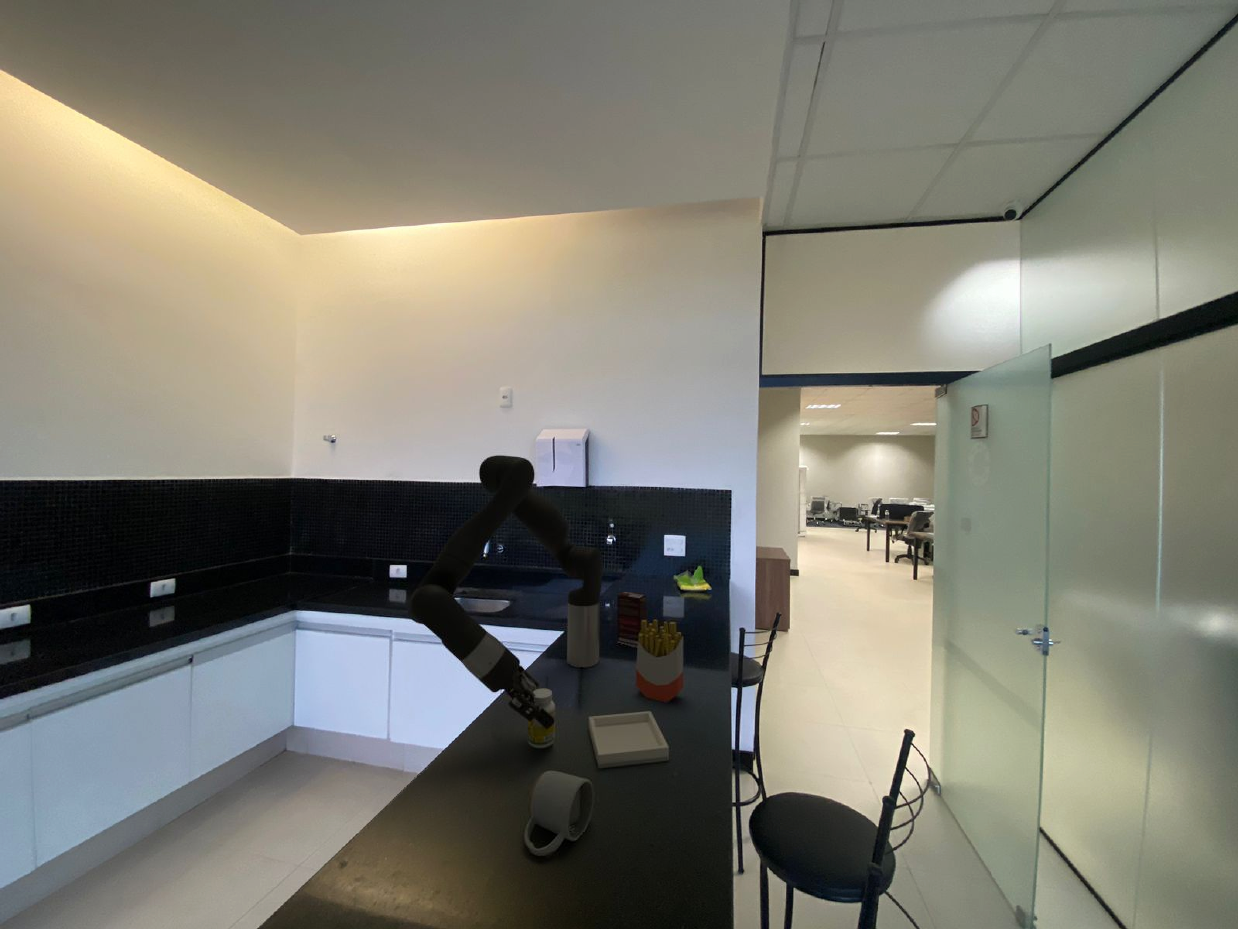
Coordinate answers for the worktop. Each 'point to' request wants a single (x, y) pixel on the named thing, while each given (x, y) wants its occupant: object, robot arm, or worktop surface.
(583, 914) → the worktop surface
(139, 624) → the worktop surface
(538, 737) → the supplement bottle
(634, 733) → the tray
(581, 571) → the robot arm
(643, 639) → the french fries container
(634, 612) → the supplement box
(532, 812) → the ceramic mug
